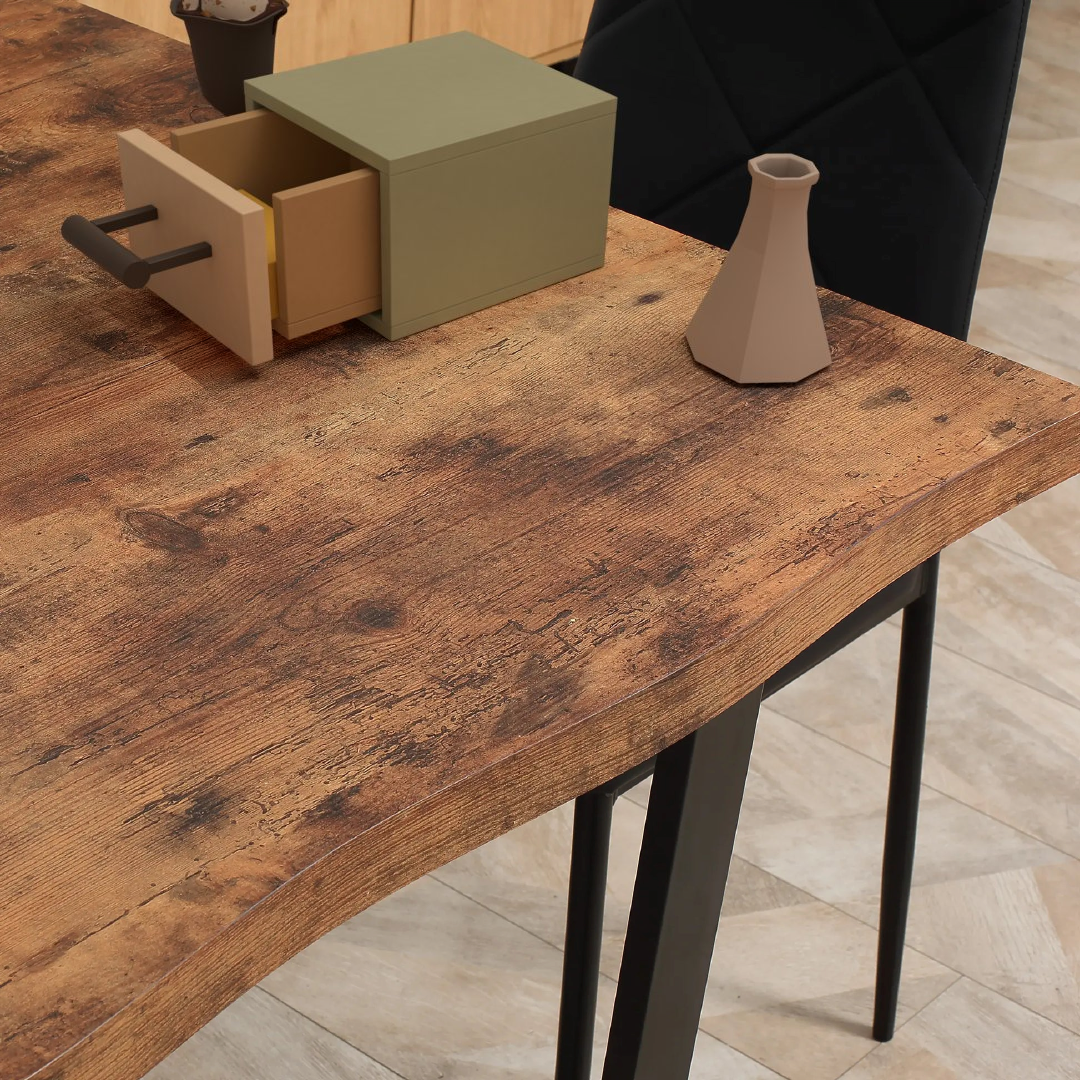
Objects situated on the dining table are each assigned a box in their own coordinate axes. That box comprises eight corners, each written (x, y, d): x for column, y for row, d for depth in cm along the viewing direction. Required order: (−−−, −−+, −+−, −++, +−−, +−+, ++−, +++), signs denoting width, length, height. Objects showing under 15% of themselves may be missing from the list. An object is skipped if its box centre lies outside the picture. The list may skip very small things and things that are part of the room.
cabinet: (391, 342, 78) (389, 160, 72) (254, 251, 85) (243, 80, 79) (604, 266, 86) (617, 97, 80) (462, 189, 93) (465, 29, 87)
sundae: (267, 201, 90) (251, -65, 81) (165, 181, 92) (138, -82, 83) (316, 160, 95) (306, -94, 87) (219, 142, 97) (199, -110, 88)
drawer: (164, 397, 71) (146, 240, 66) (48, 302, 77) (25, 154, 73) (474, 290, 81) (478, 147, 76) (348, 214, 87) (344, 78, 83)
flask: (732, 400, 74) (758, 207, 69) (659, 332, 80) (679, 146, 74) (856, 373, 77) (892, 185, 71) (778, 309, 82) (806, 128, 76)
